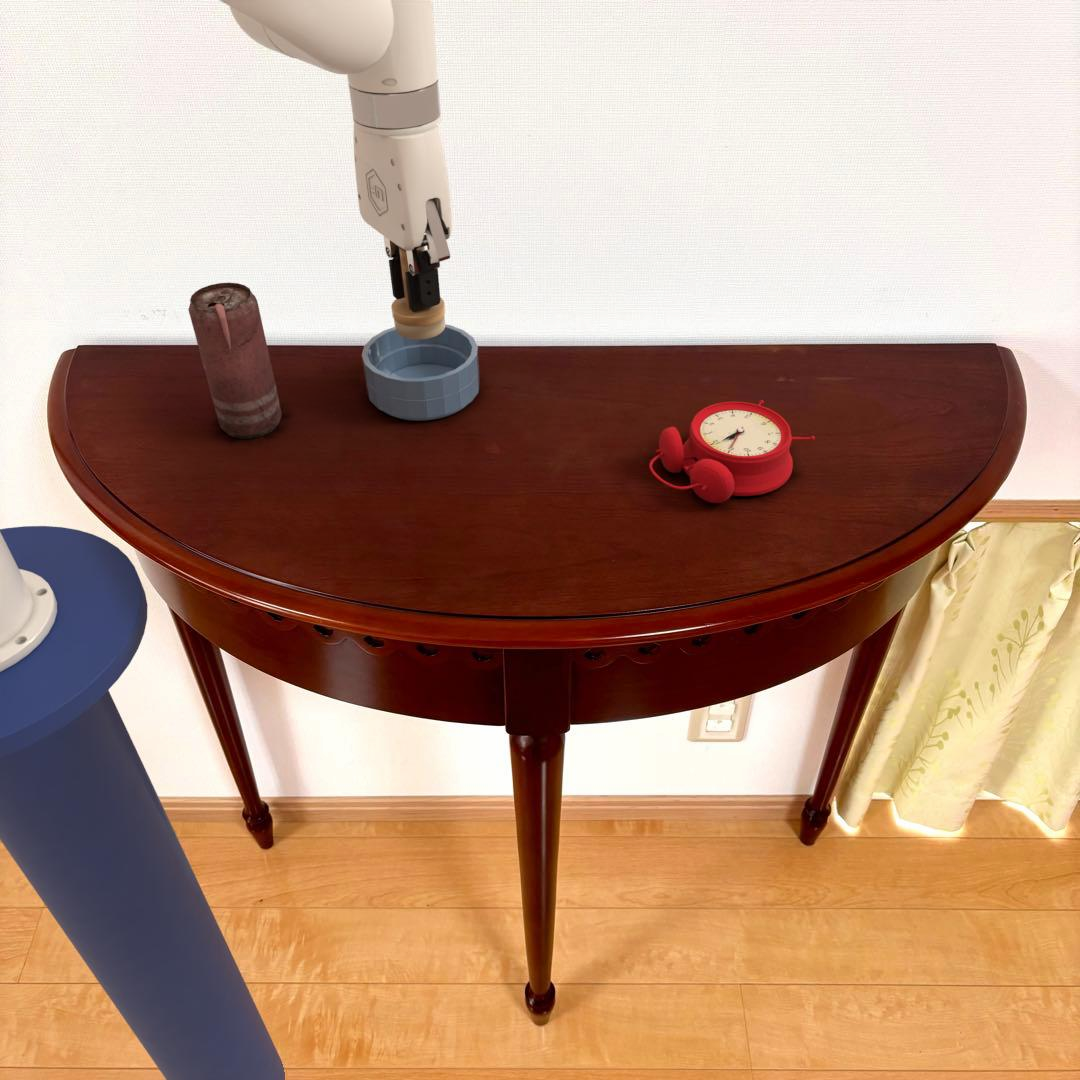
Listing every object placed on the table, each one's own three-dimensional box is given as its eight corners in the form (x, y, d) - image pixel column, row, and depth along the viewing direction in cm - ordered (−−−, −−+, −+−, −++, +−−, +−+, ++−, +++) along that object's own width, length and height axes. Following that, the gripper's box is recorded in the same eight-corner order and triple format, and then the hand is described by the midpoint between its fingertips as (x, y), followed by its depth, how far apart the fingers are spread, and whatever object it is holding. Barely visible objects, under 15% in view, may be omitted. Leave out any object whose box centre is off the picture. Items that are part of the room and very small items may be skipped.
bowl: (402, 437, 94) (397, 393, 91) (349, 385, 102) (342, 343, 98) (500, 399, 99) (499, 357, 96) (443, 352, 106) (440, 311, 103)
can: (227, 448, 93) (192, 317, 84) (215, 414, 97) (181, 287, 88) (289, 433, 95) (261, 304, 86) (275, 401, 99) (247, 274, 90)
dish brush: (410, 346, 93) (400, 263, 87) (384, 324, 96) (374, 243, 91) (456, 330, 95) (449, 248, 90) (429, 309, 98) (421, 229, 93)
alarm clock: (831, 438, 87) (711, 460, 79) (808, 495, 91) (691, 522, 83) (754, 386, 94) (636, 401, 86) (735, 441, 98) (620, 461, 90)
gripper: (314, 88, 85) (345, 281, 97) (403, 139, 75) (424, 346, 87) (389, 72, 88) (410, 261, 100) (484, 119, 78) (494, 322, 90)
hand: (416, 299), depth 94 cm, fingers closed on dish brush, 2 cm apart
